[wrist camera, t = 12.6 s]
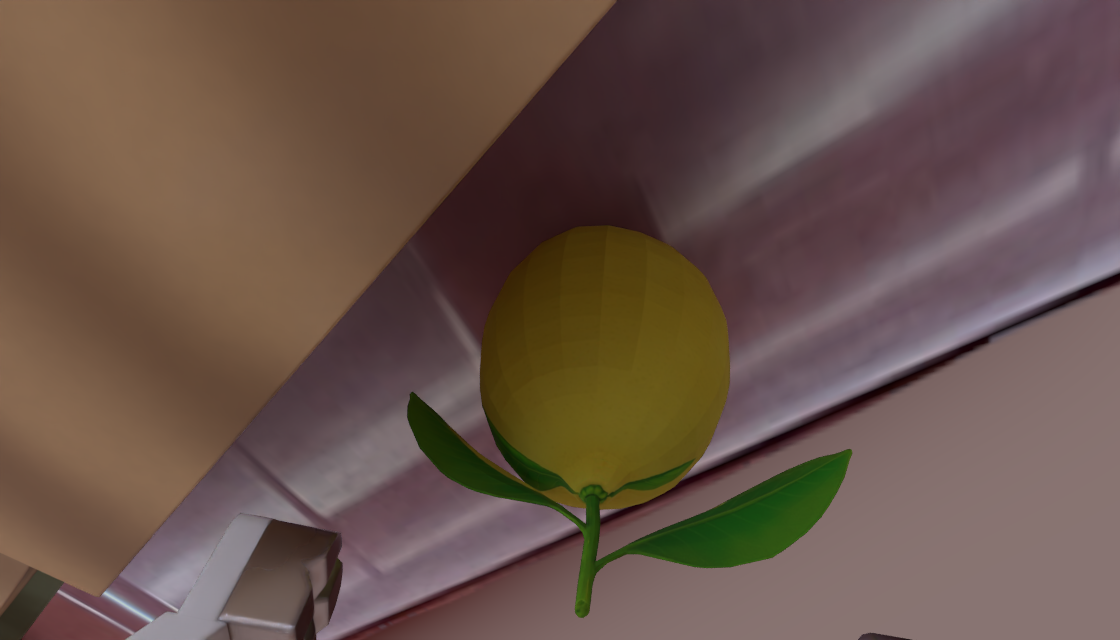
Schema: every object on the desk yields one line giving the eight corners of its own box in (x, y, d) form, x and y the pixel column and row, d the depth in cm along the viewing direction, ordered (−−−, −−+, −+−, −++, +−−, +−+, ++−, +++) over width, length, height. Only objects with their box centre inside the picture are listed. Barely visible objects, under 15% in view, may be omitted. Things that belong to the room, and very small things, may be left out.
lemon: (789, 257, 18) (908, 618, 10) (646, 389, 21) (647, 746, 13) (578, 104, 16) (511, 392, 8) (455, 273, 19) (319, 603, 11)
